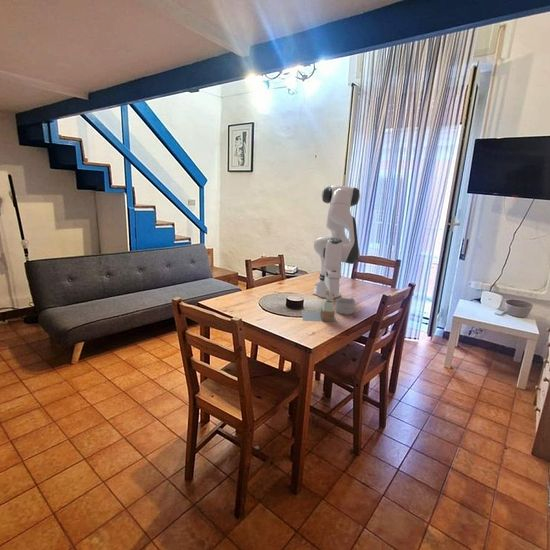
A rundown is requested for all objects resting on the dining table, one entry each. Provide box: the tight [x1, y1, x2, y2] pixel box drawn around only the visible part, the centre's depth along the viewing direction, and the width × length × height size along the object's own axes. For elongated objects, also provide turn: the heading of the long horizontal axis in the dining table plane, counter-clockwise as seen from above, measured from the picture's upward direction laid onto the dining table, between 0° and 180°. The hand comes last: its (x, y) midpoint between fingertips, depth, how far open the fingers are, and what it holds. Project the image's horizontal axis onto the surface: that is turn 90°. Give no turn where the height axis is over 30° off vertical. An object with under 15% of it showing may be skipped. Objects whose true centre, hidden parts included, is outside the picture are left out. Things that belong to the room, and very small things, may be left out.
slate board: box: [300, 310, 338, 323], centre depth 177 cm, size 14×18×1 cm
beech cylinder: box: [324, 289, 334, 301], centre depth 171 cm, size 4×4×5 cm
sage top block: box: [321, 298, 335, 312], centre depth 172 cm, size 5×5×5 cm
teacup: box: [335, 297, 356, 316], centre depth 186 cm, size 14×11×8 cm
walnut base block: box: [320, 307, 335, 321], centre depth 173 cm, size 6×6×5 cm
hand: (329, 296), depth 171 cm, fingers closed on beech cylinder, 4 cm apart
